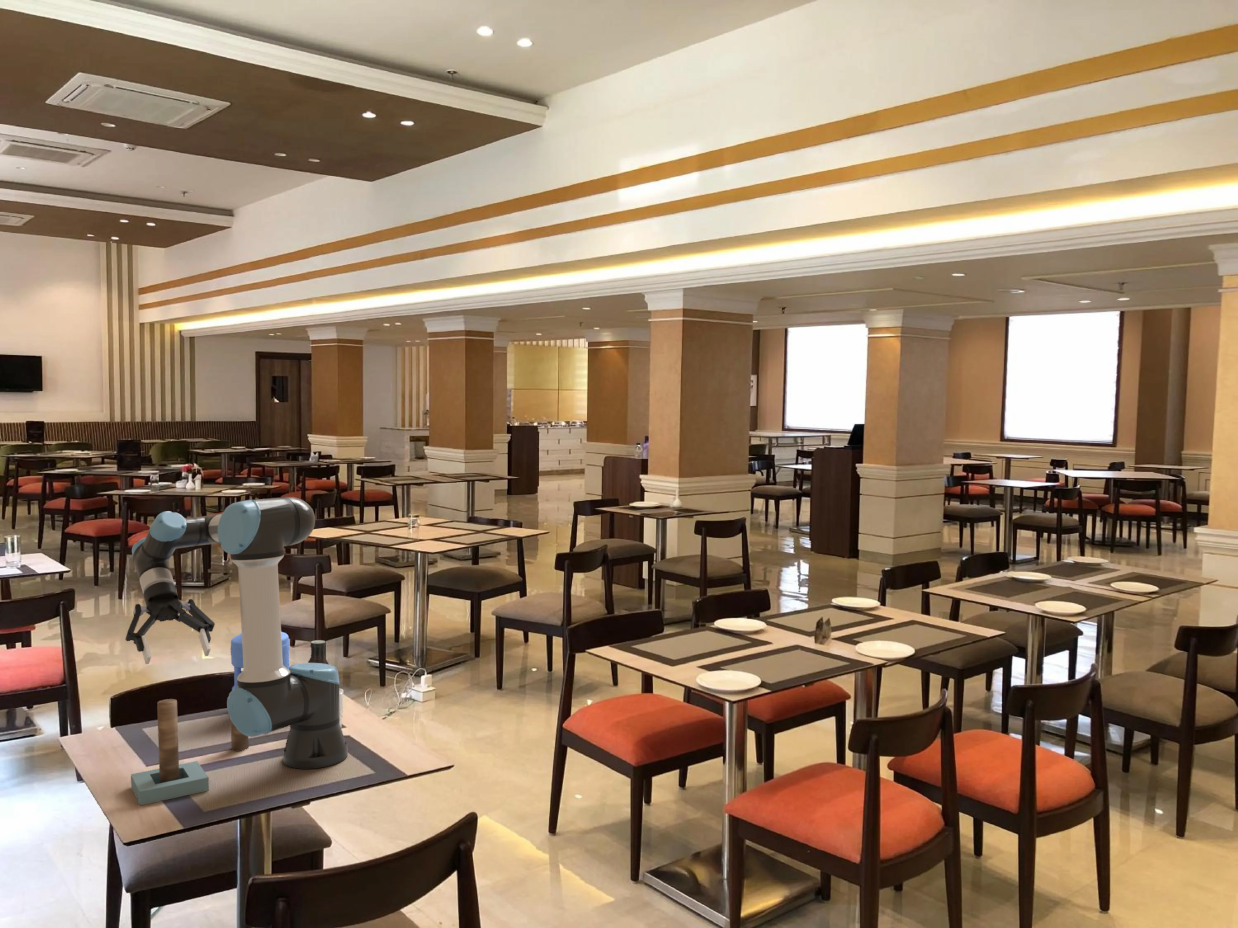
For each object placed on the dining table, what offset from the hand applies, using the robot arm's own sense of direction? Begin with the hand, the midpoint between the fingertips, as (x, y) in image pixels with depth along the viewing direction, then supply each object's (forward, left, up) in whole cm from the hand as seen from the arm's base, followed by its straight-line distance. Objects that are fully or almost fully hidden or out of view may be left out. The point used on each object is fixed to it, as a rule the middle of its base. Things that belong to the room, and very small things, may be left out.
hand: (178, 656), depth 230 cm
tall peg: (-11, +13, -26) cm, 31 cm away
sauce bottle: (-3, -44, -26) cm, 51 cm away
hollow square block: (-11, +13, -26) cm, 31 cm away
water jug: (+12, -38, -26) cm, 47 cm away
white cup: (-16, -34, -26) cm, 45 cm away
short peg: (-6, -13, -26) cm, 29 cm away
